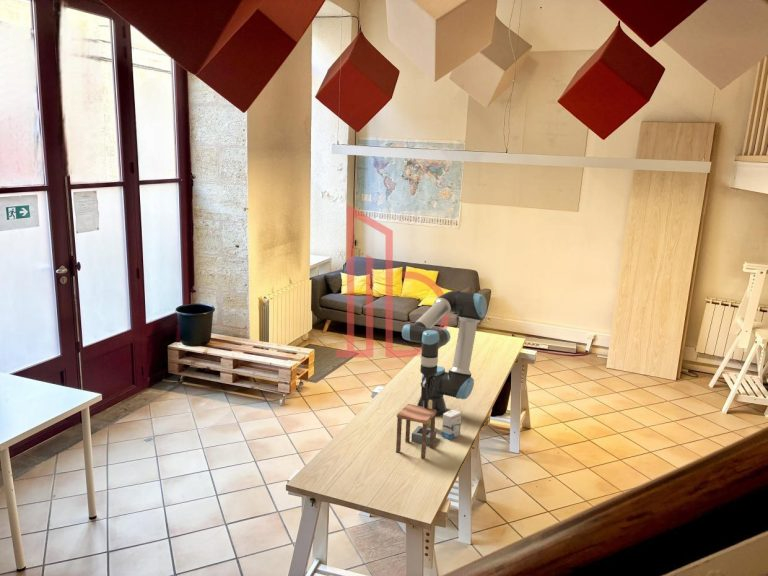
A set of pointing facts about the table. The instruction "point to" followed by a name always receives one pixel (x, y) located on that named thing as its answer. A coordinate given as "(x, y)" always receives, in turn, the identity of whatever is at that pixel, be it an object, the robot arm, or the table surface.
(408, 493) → the table surface
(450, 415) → the ink box
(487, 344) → the table surface
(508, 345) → the table surface
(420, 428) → the socket block
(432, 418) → the wooden stool
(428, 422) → the peg
